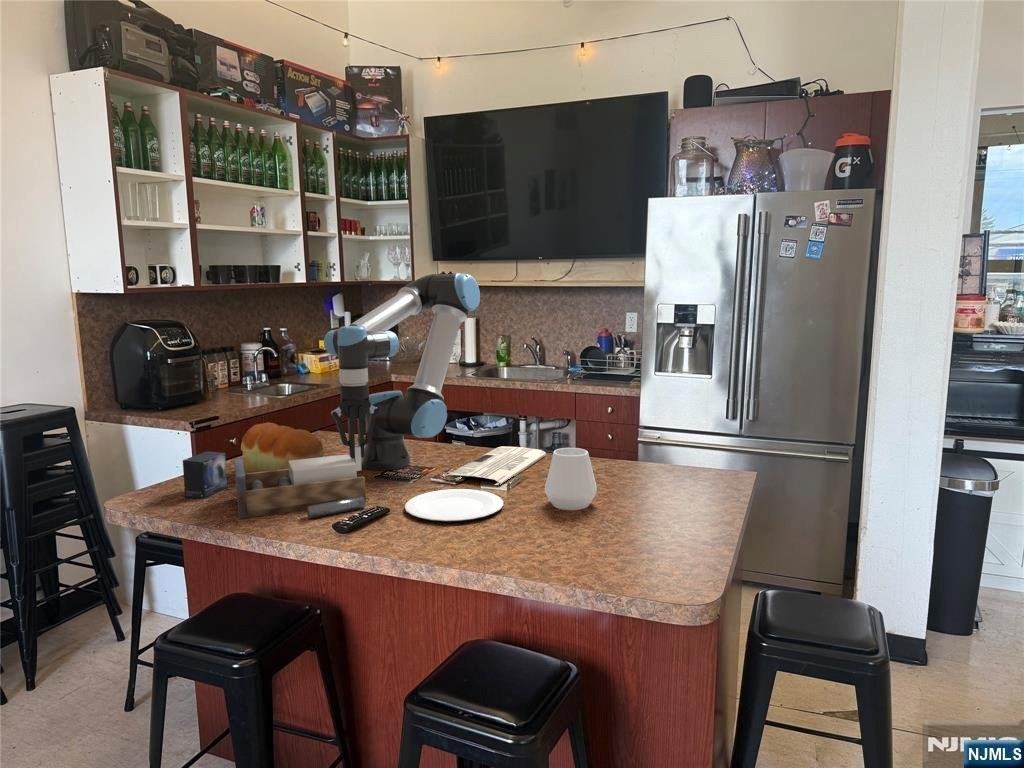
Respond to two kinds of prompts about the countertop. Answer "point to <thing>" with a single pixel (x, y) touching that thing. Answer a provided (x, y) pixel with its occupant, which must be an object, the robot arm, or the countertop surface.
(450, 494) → the plate
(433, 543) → the countertop surface
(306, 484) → the roller bed
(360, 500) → the roller
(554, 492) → the cup
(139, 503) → the countertop surface
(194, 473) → the small box
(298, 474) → the slab
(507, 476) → the newspaper
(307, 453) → the bread
